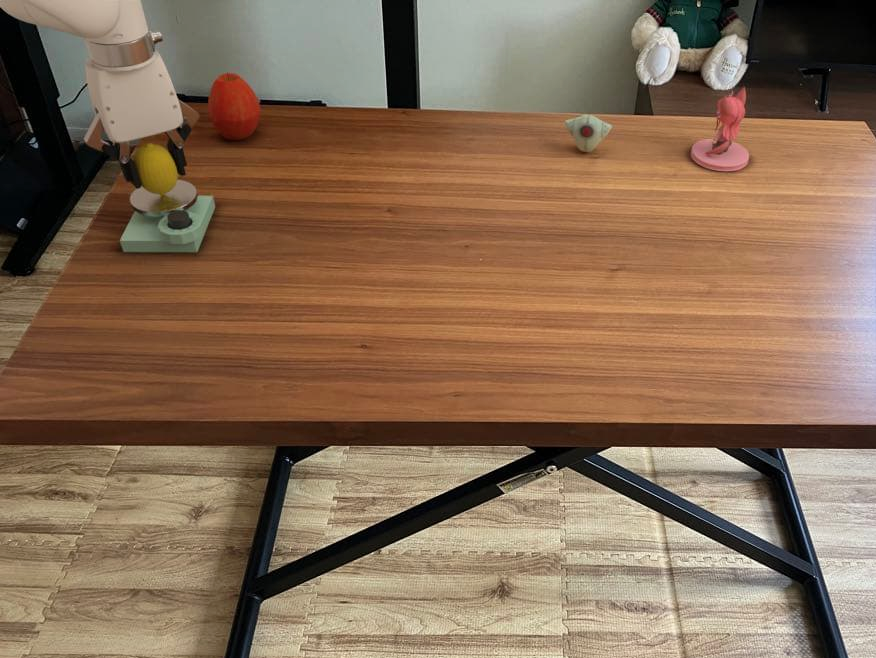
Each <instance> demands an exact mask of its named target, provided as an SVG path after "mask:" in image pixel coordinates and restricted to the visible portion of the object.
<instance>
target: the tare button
mask: <svg viewBox="0 0 876 658" xmlns="http://www.w3.org/2000/svg"><path fill="white" fill-rule="evenodd" d="M167 219H168V222H169V225H170V228H171V229H173V230H181V229H185V228H188V227H189V226H191V221H190V217H189V214H188V212H186V211H183V210H177V211H173V212H171V213H169V214H168V216H167Z"/></svg>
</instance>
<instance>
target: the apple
mask: <svg viewBox="0 0 876 658" xmlns="http://www.w3.org/2000/svg"><path fill="white" fill-rule="evenodd" d="M208 95H209V96H208V101H207V110H208V111H207V112H208V117H209V120H210V122H211V123H212V125H213V127H214V128H215V130H217V132H218V133H219V134H220V135H221V136H222V137H223V138H224V139H225V140H229V141H234V142H237V141H242V140H244V139H248V138H249V137H250V136H252V135H253V134H254V132H255V130H256V129H257V128H258V125H259V124H258V123H259V120H260V117H261V105H260V101H259V98H258V96H257V95H256V93H255V92H254V90H253V88H252V87H251V86H250V85H249V83H248V82H247V81H246V80H245V79H243V77H241V76H240V75H238V74H236V73H233V72H226V73H223V74H221V75H219V76H218V77H217V78H216V79H215V80H214V81H213V83H212V85H211V88H210V92H209V94H208Z"/></svg>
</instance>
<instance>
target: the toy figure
mask: <svg viewBox="0 0 876 658" xmlns="http://www.w3.org/2000/svg"><path fill="white" fill-rule="evenodd" d="M733 95H734V91H733V90H731V93H730V94H729V95H728V96H727V94H725V95H724V96H723V97H722V98H721V99H719V100H718V101H717V107H716V108H717V109H716V112H715V114H717V115H716V121H715V123H716V126H715V129H714V132H716V135H715V136H714V138H705V139H701V140H699V141H696V142H695V143H694V144H693V145H692V147H691V152H690V158H691V159H692V161H694V162H695V163H696V164H698V165H700V166H701V167H703V168H706V169H709V170H712V171H718V172H735V171H739V170H741V169H743V168H745V167H746V166H747V165H748V163H749V159H750V153H749V150H747V149H746V148H745V147H744V146H743V145H741V144H740V143H737V142H735V141H734V140H736V138H737V137H738V134H739V132H740V130H741V125H740V123H741V122H742V121H743V119H744V118H745V116H746V115H745V114H746V109H745V104H746V102H747V101H746V100H747V92H746V87H745V86H743V87H742V88H741V89H740V90H739V91H738V93H737V94H736V95H735V96H733ZM720 123H721V126H720V127H719V125H720Z"/></svg>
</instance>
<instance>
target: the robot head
mask: <svg viewBox="0 0 876 658" xmlns="http://www.w3.org/2000/svg"><path fill="white" fill-rule="evenodd" d="M564 122H565V129H566V130H567V131H568V133H569V134H570V136H571V137H572V138H573V140H574V142H575V145H576V147H577V148H578V149H579V150H580V151H581V152H584V153H591V152H592V151H594V149H595V148H596V147H597V146H598V145H599V143H600V142H601V141H602V140H604V138H606V137H607V136H608V134H609V133H610V132H611V129H612V128H613V124H611V123H608V122H606V121H603V120H601V119H600V118H598V117H596V116H595V115H591V114H582V115H580V116H578V117H575V118H570V119H565V120H564Z"/></svg>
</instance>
